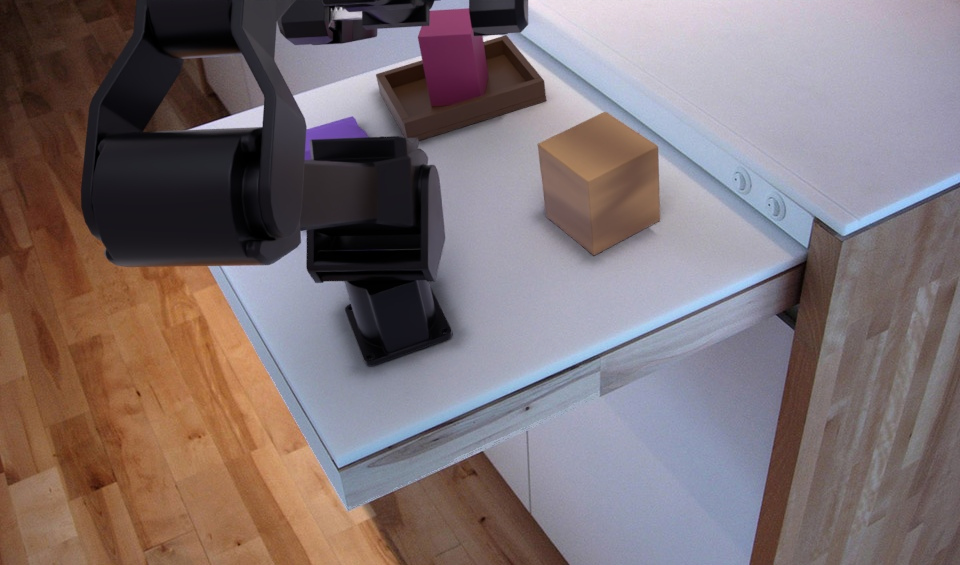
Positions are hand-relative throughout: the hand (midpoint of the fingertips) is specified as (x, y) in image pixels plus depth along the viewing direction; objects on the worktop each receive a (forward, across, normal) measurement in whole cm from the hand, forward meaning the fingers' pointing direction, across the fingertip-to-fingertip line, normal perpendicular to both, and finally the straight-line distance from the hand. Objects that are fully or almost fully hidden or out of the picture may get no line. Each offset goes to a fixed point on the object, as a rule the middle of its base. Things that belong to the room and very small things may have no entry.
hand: (429, 27), depth 84 cm
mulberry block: (+12, 0, +2) cm, 12 cm away
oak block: (-1, -14, +16) cm, 22 cm away
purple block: (+4, +10, +12) cm, 16 cm away
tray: (+12, 0, +3) cm, 13 cm away
